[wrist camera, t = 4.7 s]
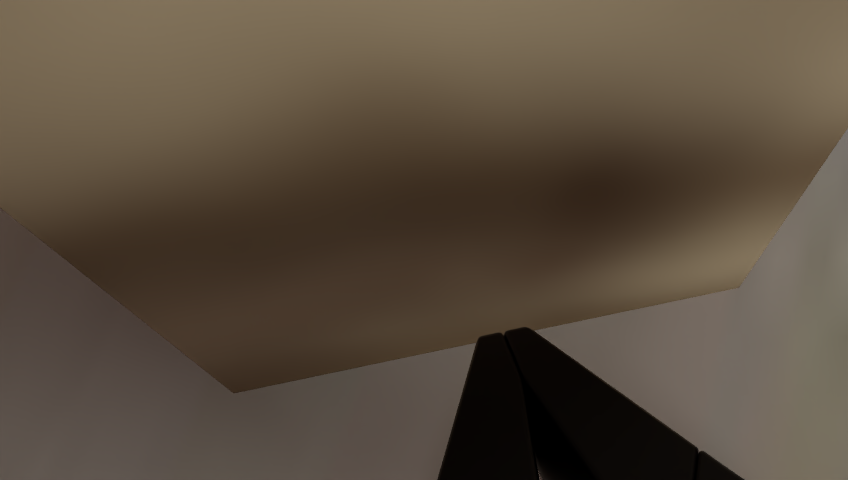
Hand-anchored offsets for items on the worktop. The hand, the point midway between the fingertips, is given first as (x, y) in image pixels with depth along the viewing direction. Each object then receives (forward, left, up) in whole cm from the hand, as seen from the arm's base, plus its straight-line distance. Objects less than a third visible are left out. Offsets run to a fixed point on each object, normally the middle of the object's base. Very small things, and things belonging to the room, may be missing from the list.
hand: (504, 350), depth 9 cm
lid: (+3, +1, -1) cm, 3 cm away
